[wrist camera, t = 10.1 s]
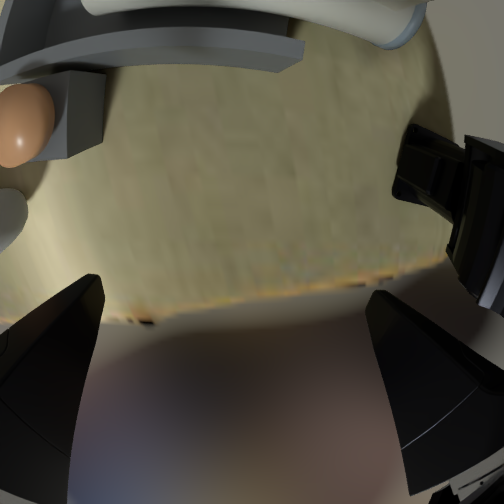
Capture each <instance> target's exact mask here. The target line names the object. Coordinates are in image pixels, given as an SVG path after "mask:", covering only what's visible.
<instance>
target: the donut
mask: <svg viewBox="0 0 504 504" xmlns="http://www.w3.org/2000/svg"><path fill="white" fill-rule="evenodd" d="M27 218H28V205H27V202H26V199H25V197H24V195H23V194H22V193H21V192H20V191H18V190H16V189H12V188H4V189H0V253H1V252H2V251H3V250H5V249H6V248H7V247H8V246H9V245H10V244H11V243H12V242H13V241H14V240H15V239H16V237H17V236H18V235H19V234H20V233H21V232H22V230H23V227H24V225H25V223H26V220H27Z"/></svg>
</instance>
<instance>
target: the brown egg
mask: <svg viewBox="0 0 504 504" xmlns="http://www.w3.org/2000/svg"><path fill="white" fill-rule="evenodd" d="M54 121H55V109H54V103H53V100H52V97H51V95H50V93H49V92H48V90H47V89H46V88H45V87H44V86H42V85H40V84H37V83H29V84H16V85H11V86H9V87H7V88H6V89H5V90H3V91H2V92H1V93H0V165H1V166H3V167H6V168H13V167H16V166H19V165H21V164H23V163H25V162H27V161H29V160H31V159H33V158H35V157H37V156H38V155H39V154H40V153H41V152H42V151H43V150H44V149H45V147H46V146H47V144H48V142H49V140H50V138H51V135H52V132H53V128H54Z"/></svg>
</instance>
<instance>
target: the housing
mask: <svg viewBox="0 0 504 504" xmlns="http://www.w3.org/2000/svg"><path fill="white" fill-rule="evenodd" d="M288 21H289V17H287V16H282V15H277V14H272V13H266V12H259V11H252V10H244V9H234V8H222V7H195V6H187V7H161V8H148V9H139V10H131V11H124V12H118V13H112V14H106V15H101V16H94V15H92V14H90V13H89V12H88V11H87V10H86V9H85V7H84V6H83V4H82V2H81V0H5V3H4V6H3V9H2V12H1V16H0V85H7V84H18V83H22V84H29V83H37V84H40V85H42V86H44V87H45V88H46V89H47V90H48V92H49V93H50V95H51V97H52V100H53V103H54V109H55V121H54V128H53V132H52V135H51V138H50V140H49V142H48V144H47V146H46V147H45V149H44V150H43V151H42V152H41V153H40V154H39V155H38V156H37V157H35V158H33V159H31V160H29V161H27V162H35V161H44V160H56V159H67V158H70V157H72V156H74V155H76V154H78V153H80V152H82V151H84V150H87V149H89V148H91V147H93V146H96V145H98V144H100V143H102V133H103V109H104V95H105V84H106V75H105V74H98V73H91V72H85V71H91V70H98V69H105V68H113V67H122V66H133V65H150V64H202V65H218V66H230V67H240V68H248V69H255V70H262V71H269V72H275V73H278V72H280V71H282V70H284V69H286V68H288V67H290V66H292V65H293V64H295V63H297V62H299V61H301V60H302V59H303V53H304V46H305V41H302V40H297V39H293V38H288V37H286V34H287V28H288ZM25 163H26V162H25Z"/></svg>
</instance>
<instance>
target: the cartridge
mask: <svg viewBox="0 0 504 504" xmlns="http://www.w3.org/2000/svg"><path fill="white" fill-rule="evenodd" d="M429 1H432V0H81V2H82V4H83V6H84V7H85V9H86V10H87V11H88V12H89V13H90V14H92V15H94V16H101V15H106V14H112V13H118V12H124V11H131V10H139V9H148V8H161V7H187V6H195V7H222V8H234V9H244V10H252V11H259V12H266V13H272V14H277V15H282V16H287V17H292V18H296V19H301V20H305V21H309V22H312V23H316V24H320V25H323V26H327V27H330V28H333V29H336V30H339V31H342V32H345V33H348V34H351V35H354V36H356V37H359V38H362V39H364V40H367V41H369V42H371V43H372V44H373V45H375V46H378V47H380V48H382V49H385V50H393V49H397V48H399V47H401V46H403V45H404V44H405V43H407V42H408V41H409V40H410V39H411V38H412V37H413V36H414V34H415V33H416V32H417V30H418V29H419V27H420V25H421V23H422V21H423V18H424V15H425V12H426V6H427V2H429Z"/></svg>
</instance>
